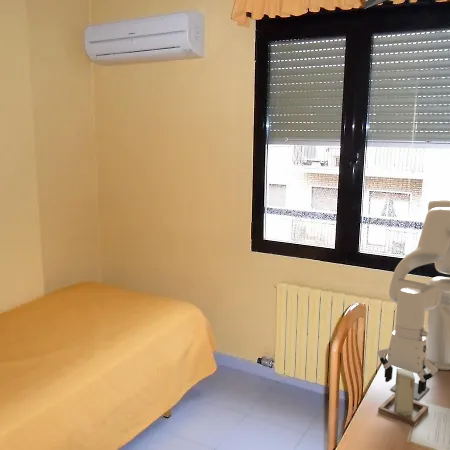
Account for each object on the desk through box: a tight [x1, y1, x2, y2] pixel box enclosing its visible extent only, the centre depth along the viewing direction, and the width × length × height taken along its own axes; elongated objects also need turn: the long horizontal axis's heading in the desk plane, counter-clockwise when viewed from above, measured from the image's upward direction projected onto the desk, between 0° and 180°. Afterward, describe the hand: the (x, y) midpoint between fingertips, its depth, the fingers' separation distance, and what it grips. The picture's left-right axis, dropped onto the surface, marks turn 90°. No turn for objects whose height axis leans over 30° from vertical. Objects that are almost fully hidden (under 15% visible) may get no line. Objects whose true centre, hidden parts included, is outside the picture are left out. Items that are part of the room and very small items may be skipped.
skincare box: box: [393, 368, 416, 419], centre depth 141 cm, size 6×4×12 cm
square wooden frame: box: [377, 393, 429, 428], centre depth 142 cm, size 11×11×2 cm
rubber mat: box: [389, 382, 430, 401], centre depth 154 cm, size 9×9×1 cm
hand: (404, 386), depth 140 cm, fingers open, 9 cm apart
